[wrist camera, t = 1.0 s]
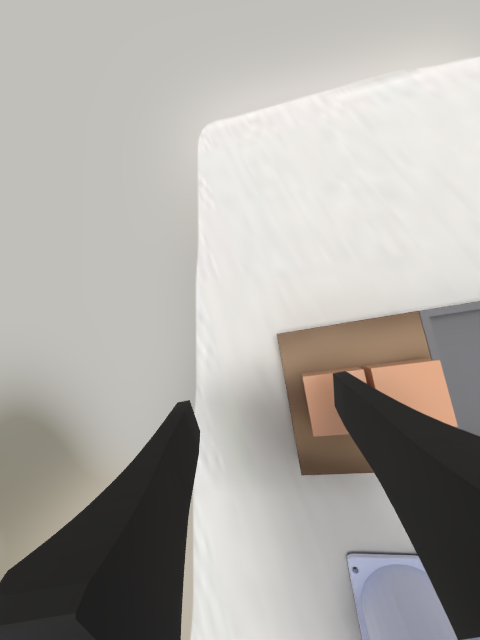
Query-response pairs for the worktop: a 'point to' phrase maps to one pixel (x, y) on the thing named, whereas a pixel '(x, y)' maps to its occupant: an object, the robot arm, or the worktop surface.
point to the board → (336, 353)
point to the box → (457, 357)
